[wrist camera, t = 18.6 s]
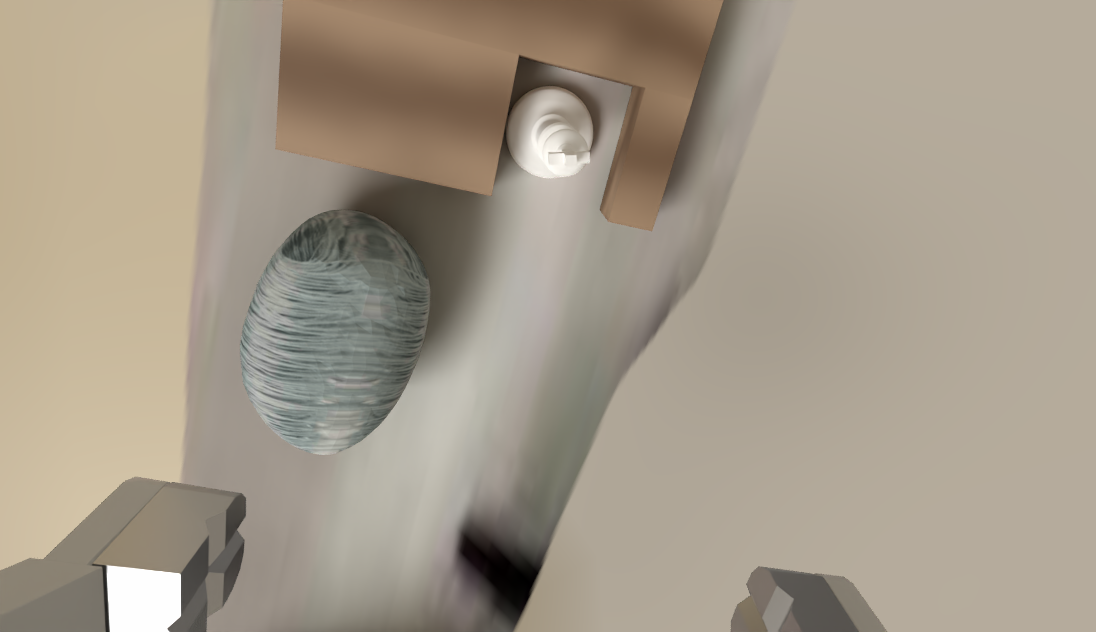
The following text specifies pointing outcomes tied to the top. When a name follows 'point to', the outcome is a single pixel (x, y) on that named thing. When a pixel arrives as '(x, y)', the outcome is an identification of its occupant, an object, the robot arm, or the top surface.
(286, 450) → the top surface
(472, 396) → the top surface
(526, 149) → the chess piece
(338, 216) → the yarn ball
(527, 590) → the top surface
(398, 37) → the notch board
